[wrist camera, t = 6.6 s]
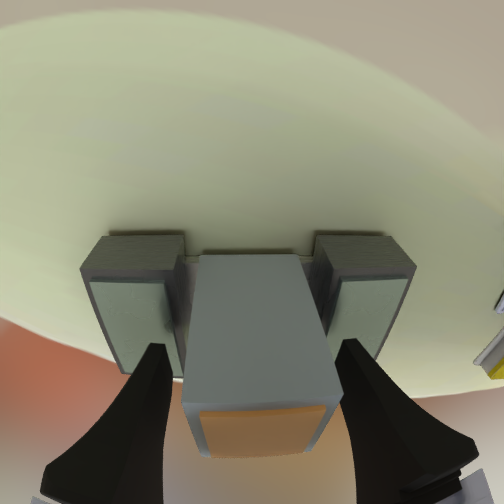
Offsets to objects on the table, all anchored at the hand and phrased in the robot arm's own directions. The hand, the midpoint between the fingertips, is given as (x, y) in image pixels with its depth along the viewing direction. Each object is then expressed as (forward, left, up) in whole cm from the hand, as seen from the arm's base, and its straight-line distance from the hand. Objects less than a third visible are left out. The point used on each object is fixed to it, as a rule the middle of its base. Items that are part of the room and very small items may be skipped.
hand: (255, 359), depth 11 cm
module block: (0, 0, -4) cm, 4 cm away
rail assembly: (0, 0, -5) cm, 5 cm away
